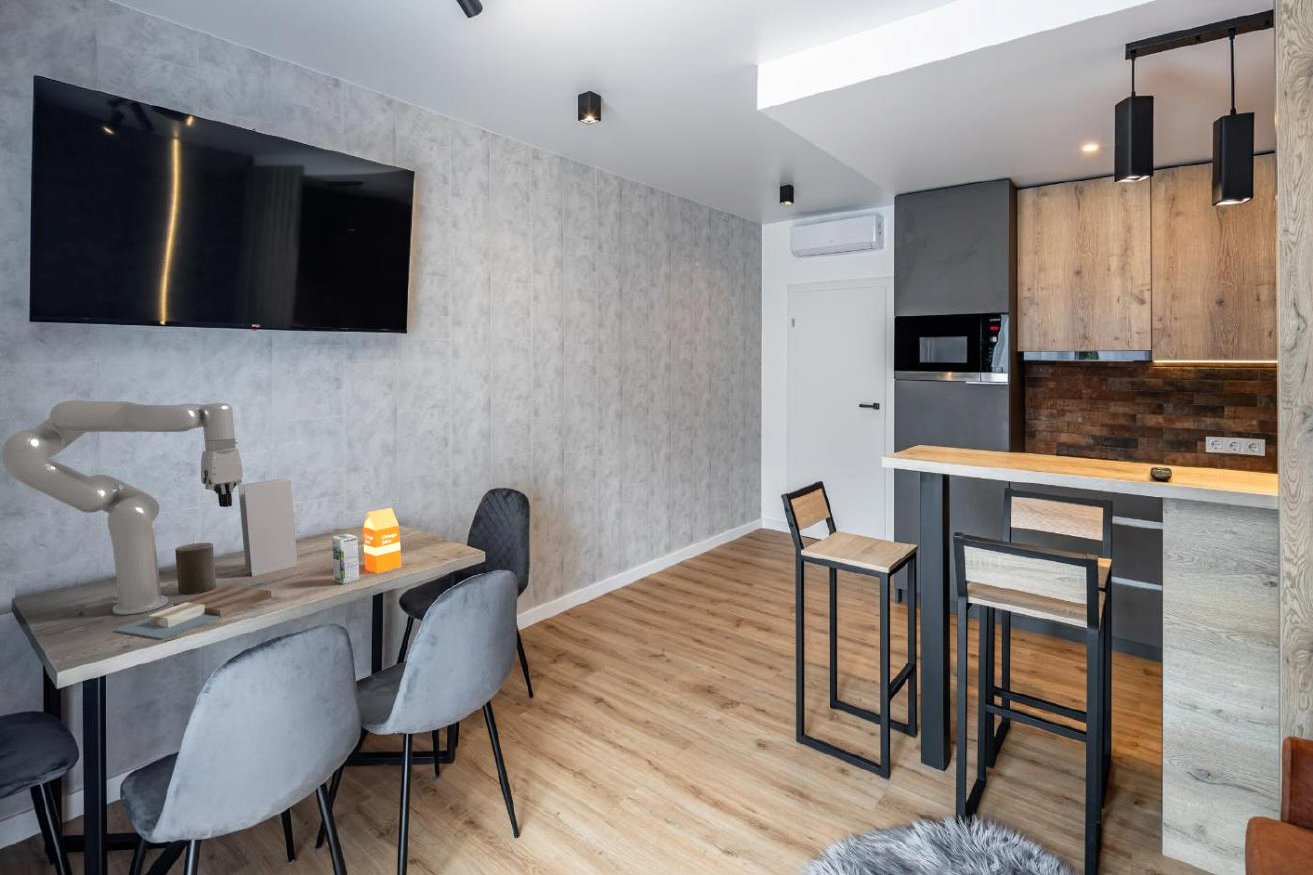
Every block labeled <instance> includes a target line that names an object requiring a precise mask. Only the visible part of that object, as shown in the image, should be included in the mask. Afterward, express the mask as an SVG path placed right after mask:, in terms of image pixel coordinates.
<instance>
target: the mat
mask: <svg viewBox="0 0 1313 875" xmlns="http://www.w3.org/2000/svg"><path fill="white" fill-rule="evenodd" d="M219 618H220V617H219V616H215V615H208V614H203V615H200V616H198V617H195V618H192V619H189V620H187V621H184V622H181V623H179V624H176V625H173V626H171V627H163V626H156V625H150V622H149V617H146V618H144V619H141V620H137V621H135V622H132V623H128V624H127V625H124V626H121V627H117V628H115V629H113V632H114V633H120V634H121V633H122V634H126V635H132V634H134V635H133V636H137V635H142V636H141V637H143V636H147V637H146V638H149V637H152V638H151V639H155V638H157V639H156V640H161V641H163V640H165V638H166V639H169V638H170V636H171V637H173V636H172V635H174V634H176V635H178V634H181V633H184V632H186V631H188V630H191V629H194V628H196V626H197V627H199V626H201V624H202V625H204V624H206V623H205V622H207V623H209V622H208V621H210V620H212V619H215V620H217V619H219ZM212 621H213V620H212ZM210 622H211V621H210ZM203 623H204V624H203ZM198 625H199V626H198ZM174 636H175V635H174Z"/></svg>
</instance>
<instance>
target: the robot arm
mask: <svg viewBox="0 0 1313 875" xmlns="http://www.w3.org/2000/svg"><path fill="white" fill-rule="evenodd" d="M233 412H234V411H233V407H232V405H231V404H230V403H225V402H222V403H220V402H219V403H216V402H215V403H206V404H203V403H202V404H198V403H182V404H168V405H167V404H162V405H161V404H138V403H134V402H131V401H117V400H116V401H111V400H110V401H108V400H107V401H101V400H99V401H98V400H95V401H94V400H93V401H91V400H88V401H87V400H83V399H74V400H66V401H61V402H59V403H57V404H56V405H54V406H53V407H52V409H51V410H50V412H49V418H47V419H46V420H44V421H43V422H41V423H40V424H38V425H37V426H36V427H34V428H31V429H26V430H22V431H18V432H15V433H14V434H12V435H10V436H9V437H8V438H7V439H6V440H5V442H4V443H3V445H2V448H1V453H0V454H1V461H2V464H3V466H4V469H5V470H6V471H7V473H8V474H9V475H10V476H11V477H13V478H14V479H16V480H17V481H18V482H20V483H22V484H24V485H25V486H27V487H29V488H32V489H34V490H36V491H38V492H40V493H43V494H44V495H46V496H48V497H51V498H53V499H54V500H57V501H58V502H61V503H62V504H66V505H67V506H69V507H71V508H74V509H76V510H78V511H80V512H83V513H90V514H91V513H97V512H99V511H103V512H105V513H107V514H108V515H107V527H108V531H109V536H110V539H111V545H112V551H113V553H112V554H113V559H114V569H115V575H116V576H115V577H116V587H117V593H115V594H114V595H113V598H114V599H117V601H118V603H117V604H115V605H114V606H113V608H112V613H113V614H116V615H123V616H124V615H136V614H141V613H145V612H146V613H147V612H150V611H153V610H156V609H159V608H162V607H164V606H165V605H167V603H169V597H167V596H166V595H162V592H161V583H160V581H161V580H160V574H159V573H160V572H159V563H158V555H157V553H158V552H157V546H156V538H155V533H154V529H153V523H152V522H154V520H156V518H157V517H158V516H159V514H160V504H159V503H158V501H157V499H156V498H155V497H153V496H151V494H148V493H147V492H144V491H143V490H140V489H138V488H136V487H134V486H133V485H131V484H128V483H126V482H125V481H122V480H120V479H118V478H116V477H114V476H110V475H106V474H94V475H90V476H88V475H86V474H83V473H82V472H79V471H76V469H75V470H74V469H73V468H71V467H70V466H66V465H65V464H61V463H59V462H56V461H54V460H52V459H51V457H53V456H56V455H57V454H60V453H61V452H62V451H64V449H66V448H68V447H69V446H70V445H71V444H72V443H74V442H76V441H77V440H78V439H79V438H80V437H82V436H83V435H85V434H86V433H92V432H93V433H108V432H109V433H142V432H143V433H146V432H147V433H180V432H181V433H182V432H187V431H188V432H189V431H190V430H194V429H198V428H203V439H204V451H202V453H201V459H200V480H201V483H202V485H204V486H205V487H204V489H205V490H210V491H211V490H212V491H214V492H215V494H217V498H218V505H219V507H222V508H227V507H232V506H233V495H232V493H234V489H235V487H237V486H238V485H240V484H243V483H242V482H243V481H242V479H243V476H244V475H243V464H242V460H241V455H240V453H239V449H238V447H236V444H238V443H239V440H238V439H236V437H235V436H236V435H235V424H234V414H233Z"/></svg>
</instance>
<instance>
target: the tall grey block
mask: <svg viewBox="0 0 1313 875" xmlns="http://www.w3.org/2000/svg"><path fill="white" fill-rule="evenodd" d="M237 487H238V488H237V489H238V499H239V510H240V520H241V531H242V532H241V534H242V544H243V557H244V566H245V567H244V569H245V573H246V574H251V576H252V577H257V576H260V574H261V575H263V574H268V573H272V572H277V571H281V570H286V569H289V568H293V567H294V566H295V567H298V556H297V555H298V554H297V540H296V529H295V517H294V515H295V514H294V503H293V489H292V479H288V480H287V479H285V478H277V479H271V480H263V481H256V482H248V483H241V484H239V485H237Z"/></svg>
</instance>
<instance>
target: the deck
mask: <svg viewBox="0 0 1313 875" xmlns="http://www.w3.org/2000/svg"><path fill="white" fill-rule="evenodd" d="M271 598H273V597H272V590H267V589H265V590H264V589H259V588H251V587H243V586H237V585H236V586H235V585H230V584H229V585H228V584H226V585H224V586H221V587H216V588H214V589H212V590H210V591H206V592H203V593H199V594H197V595H195V596H192V597H191V596H190V597H188V598H186V599H183V600H179V601H177V602H174V603H173V607H174V606H177V605H180V604H183V603H186V602H188V603H195V604H202V605H204V606H205V614H208V615H215V616H219V618H222V616H223V617H225V616H227V615H230V614H232V613H235V612H238V611H240V610H243V609H245V607H246V608H248V607H250V605H251V606H253V605H256V604H258V603H260V602H264V601H266V600H268V599H271Z"/></svg>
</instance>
